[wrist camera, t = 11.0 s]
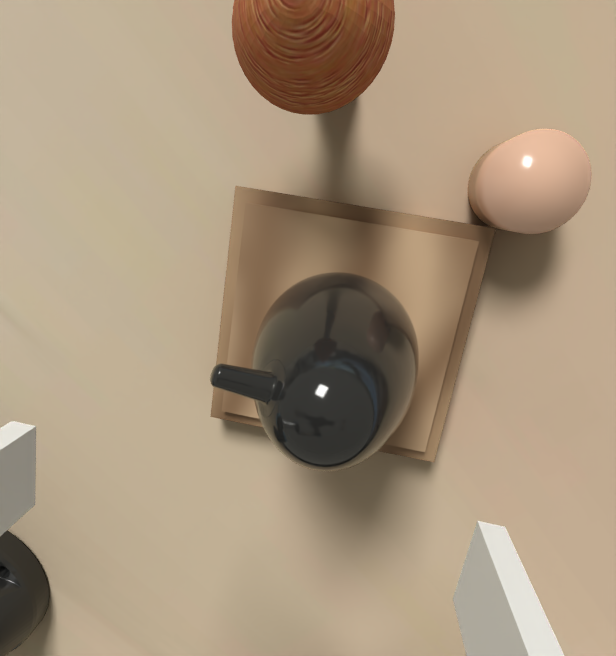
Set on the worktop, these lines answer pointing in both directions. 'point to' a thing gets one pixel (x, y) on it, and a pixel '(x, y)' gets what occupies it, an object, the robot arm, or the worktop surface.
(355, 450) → the pump dispenser
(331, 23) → the mushroom
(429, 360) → the walnut tray
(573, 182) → the pink rounded glossy part
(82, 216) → the worktop surface
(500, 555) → the robot arm
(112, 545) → the worktop surface
